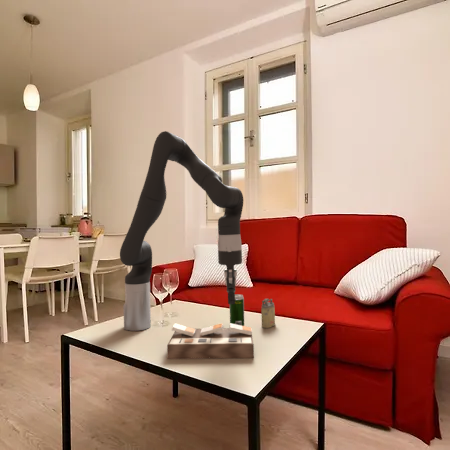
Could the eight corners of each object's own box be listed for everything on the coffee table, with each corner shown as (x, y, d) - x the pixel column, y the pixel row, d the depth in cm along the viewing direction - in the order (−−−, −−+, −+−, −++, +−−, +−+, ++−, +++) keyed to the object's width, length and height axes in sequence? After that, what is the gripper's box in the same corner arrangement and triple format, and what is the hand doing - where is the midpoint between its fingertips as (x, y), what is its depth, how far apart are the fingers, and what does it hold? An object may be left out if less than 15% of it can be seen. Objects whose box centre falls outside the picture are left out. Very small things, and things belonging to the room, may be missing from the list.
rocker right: (229, 330, 95) (230, 326, 95) (229, 326, 99) (230, 322, 99) (251, 335, 95) (252, 331, 95) (250, 330, 99) (251, 327, 99)
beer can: (246, 328, 113) (246, 296, 113) (233, 330, 112) (232, 297, 112) (241, 324, 118) (240, 293, 118) (228, 326, 117) (227, 294, 117)
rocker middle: (201, 335, 95) (200, 332, 95) (202, 331, 99) (201, 328, 99) (223, 330, 95) (222, 326, 95) (223, 326, 99) (222, 322, 99)
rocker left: (171, 330, 96) (172, 326, 96) (174, 325, 100) (175, 322, 100) (193, 336, 95) (194, 333, 95) (194, 332, 99) (195, 329, 99)
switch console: (167, 358, 89) (167, 342, 89) (176, 340, 103) (176, 326, 103) (253, 357, 88) (253, 341, 88) (251, 339, 102) (250, 325, 102)
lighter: (268, 322, 121) (267, 296, 121) (277, 323, 118) (276, 298, 119) (259, 327, 115) (259, 300, 115) (269, 329, 113) (268, 301, 113)
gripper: (219, 248, 104) (220, 299, 104) (216, 251, 91) (218, 309, 91) (241, 247, 104) (242, 298, 104) (242, 250, 91) (244, 309, 90)
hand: (231, 303), depth 97 cm, fingers closed
